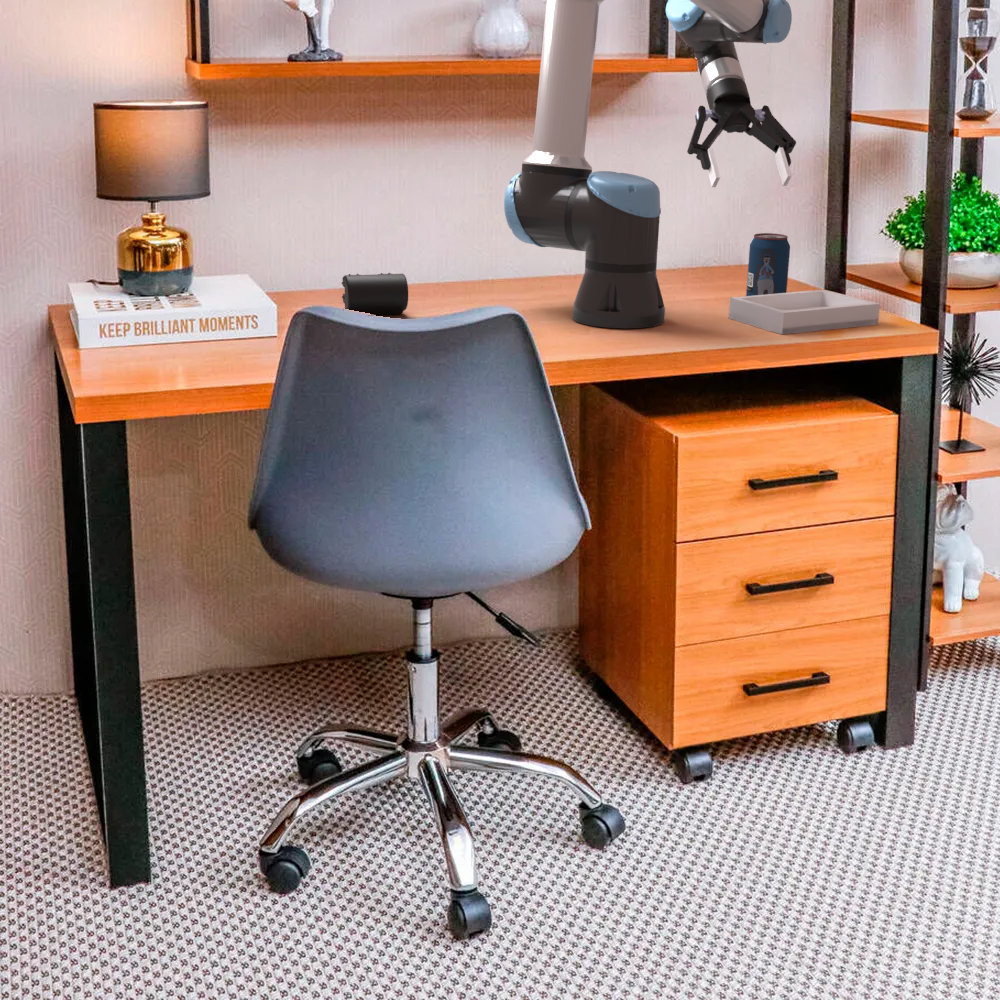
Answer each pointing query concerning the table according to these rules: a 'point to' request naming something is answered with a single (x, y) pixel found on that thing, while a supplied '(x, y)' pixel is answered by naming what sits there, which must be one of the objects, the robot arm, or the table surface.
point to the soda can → (768, 264)
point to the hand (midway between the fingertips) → (751, 181)
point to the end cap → (376, 293)
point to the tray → (803, 311)
